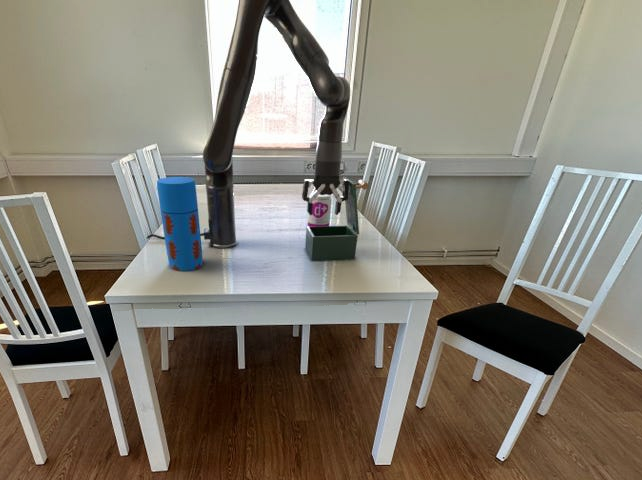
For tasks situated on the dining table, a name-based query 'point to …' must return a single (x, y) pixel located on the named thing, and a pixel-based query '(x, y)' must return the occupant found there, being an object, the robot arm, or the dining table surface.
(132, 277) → the dining table surface
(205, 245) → the dining table surface
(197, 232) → the thermos
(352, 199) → the tin lid
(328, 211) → the supplement can
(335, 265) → the dining table surface
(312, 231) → the tea tin
